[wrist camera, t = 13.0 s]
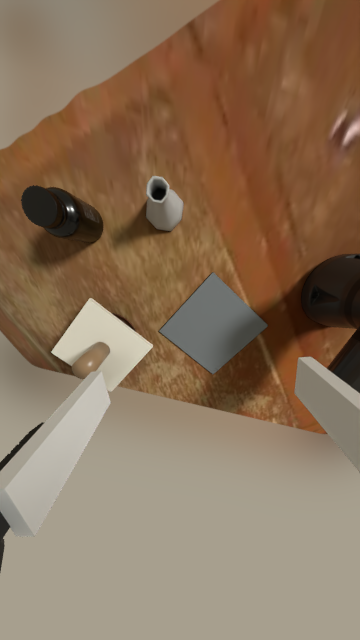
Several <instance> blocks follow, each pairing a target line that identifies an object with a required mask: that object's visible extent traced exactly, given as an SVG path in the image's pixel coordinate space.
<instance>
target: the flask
mask: <svg viewBox="0 0 360 640" xmlns="http://www.w3.org/2000/svg"><path fill="white" fill-rule="evenodd" d="M146 195H147V196H148V197H149V199H148V200H147V211H146V218H147V219H148V220H149V221H150V222H151V223H152V224H153V225H154V227H155V228H156V229H160V230H166V231H172V230H173V229H174V228H175V227H176V225H177V224H178V223H179V222H180V221H181V220H182V212H183V204H184V203H183V201H182V200H181V199H180V198H179V197H178V195H177V194H176V193H175V192H174V191H173V190H170V189H169V184H168V183H167V182H166V181H165V180H164V179H163V177H158V176H153V177H152V178H151V179H150V180H149V182H148V183H147V190H146Z"/></svg>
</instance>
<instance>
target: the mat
mask: <svg viewBox="0 0 360 640" xmlns="http://www.w3.org/2000/svg"><path fill="white" fill-rule="evenodd" d="M267 326H268V325H267V324H266V323H265V322H264V321H263V320H262V319H261V318H260V317H259V316H258V315H257V314H256V313H255V312H254V311H253V310H252V309H251V308H250V307H249V306H247V305H246V304H245V303H244V302H243V301H242V300H241V299H240V298H239V297H238V296H237V295H236V294H235V293H234V292H233V291H232V290H231V289H230V288H229V287H228V286H227V285H226V284H225V283H224V282H223V281H222V280H221V279H220V278H219V277H217V276H216V275H215V274H214V273H213V272H212V274H211V275H210V276H209V277H208V278H207V279H206V280H205V281H204V282H203V283H202V284H201V286H200V287H199V288H198V289H197V290H196V291H195V292H194V293H193V294H192V295H191V297H190V298H189V299H188V300H187V301H186V302H185V303H184V304H183V305H182V306H181V307H180V309H179V310H178V311H177V312H176V313H175V314H174V315H173V316H172V317H171V318H170V319H169V321H168V322H167V323H166V324H165V325H164V326H163V327H162V328H161V329H160V330H159V332H161V333H162V334H163V335H164V336H166V337H167V338H168V339H169V340H171V341H172V342H173V343H174V344H176V345H177V346H178V347H179V348H181V349H182V350H183V351H184V352H186V353H187V354H188V355H189V356H191V357H192V358H193V359H194V360H196V361H197V362H198V363H199V364H201V365H202V366H203V367H204V368H206V369H207V370H208V371H209V372H211V373H212V374H214V373H215V372H217V371H218V370H219V369H220V368H221V367H222V366H223V365H224V364H226V363H227V362H228V361H229V360H230V359H231V358H232V357H233V356H235V355H236V354H237V353H238V352H239V351H240V350H241V349H242V348H244V347H245V346H246V345H247V344H248V343H249V342H250V341H252V340H253V339H254V338H255V337H256V336H257V335H258V334H259V333H261V332H262V331H263V330H264V329H265V328H266V327H267Z"/></svg>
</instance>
